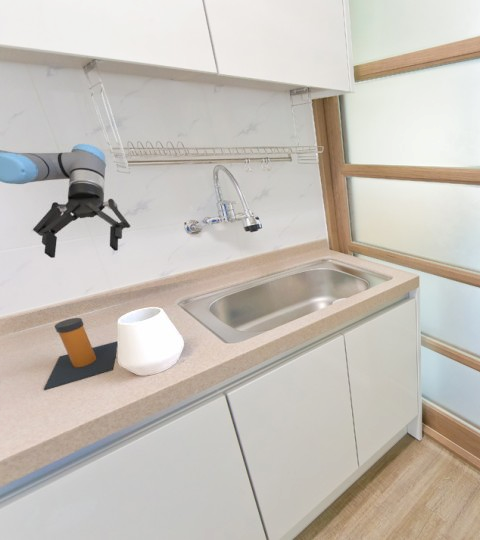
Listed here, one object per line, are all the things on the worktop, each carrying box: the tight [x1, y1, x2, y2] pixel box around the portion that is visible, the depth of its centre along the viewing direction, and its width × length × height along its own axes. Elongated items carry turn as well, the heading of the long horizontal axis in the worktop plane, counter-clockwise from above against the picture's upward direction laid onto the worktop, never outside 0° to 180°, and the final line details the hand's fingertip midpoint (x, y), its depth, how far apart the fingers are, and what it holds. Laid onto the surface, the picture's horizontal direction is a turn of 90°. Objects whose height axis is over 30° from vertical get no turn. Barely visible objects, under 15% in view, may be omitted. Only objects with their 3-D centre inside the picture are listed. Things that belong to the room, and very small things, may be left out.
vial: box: [54, 317, 96, 367], centre depth 82 cm, size 5×5×12 cm
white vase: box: [116, 306, 185, 377], centre depth 81 cm, size 13×13×14 cm
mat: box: [43, 340, 118, 391], centre depth 84 cm, size 16×12×1 cm
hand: (82, 251), depth 89 cm, fingers open, 13 cm apart
